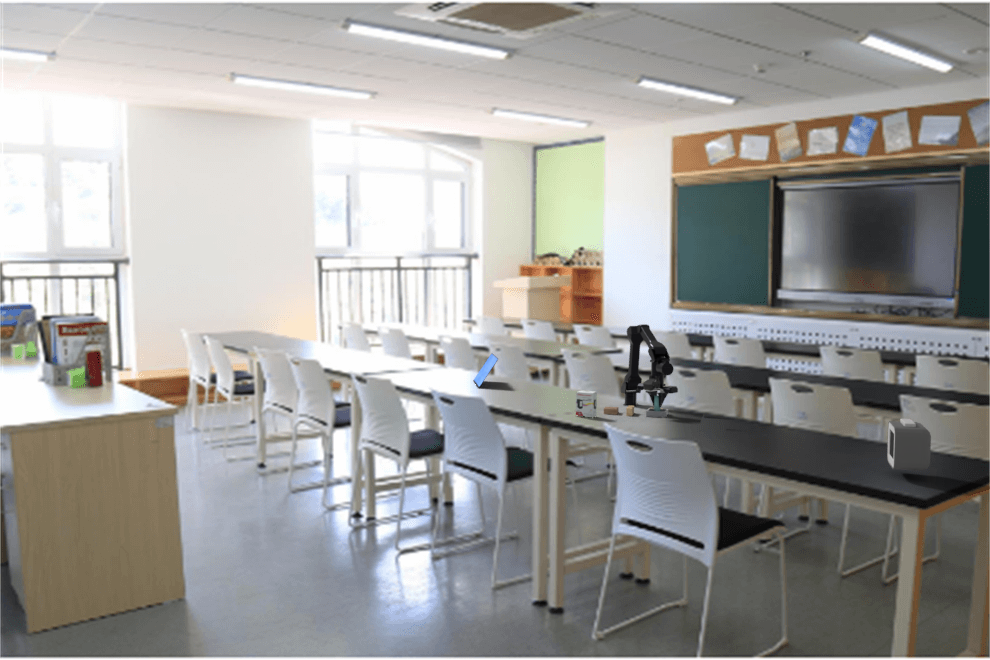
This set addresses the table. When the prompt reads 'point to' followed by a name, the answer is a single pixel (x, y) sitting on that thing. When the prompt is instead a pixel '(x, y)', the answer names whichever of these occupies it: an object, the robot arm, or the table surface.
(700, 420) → the table surface
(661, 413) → the tray
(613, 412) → the walnut block
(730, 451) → the table surface
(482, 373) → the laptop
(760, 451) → the table surface
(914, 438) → the alarm clock
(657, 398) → the dowel
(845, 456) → the table surface
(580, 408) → the ink box
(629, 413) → the block
